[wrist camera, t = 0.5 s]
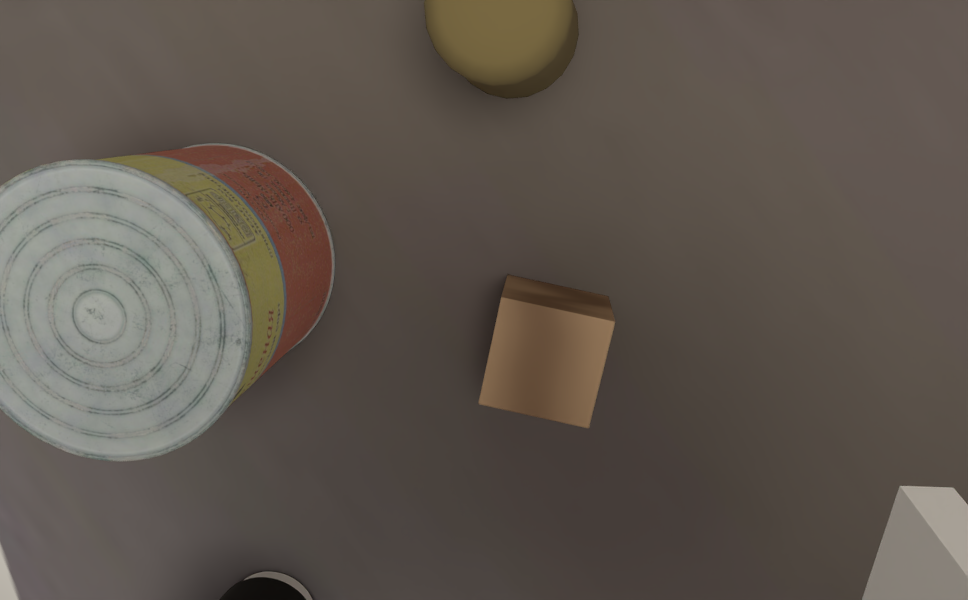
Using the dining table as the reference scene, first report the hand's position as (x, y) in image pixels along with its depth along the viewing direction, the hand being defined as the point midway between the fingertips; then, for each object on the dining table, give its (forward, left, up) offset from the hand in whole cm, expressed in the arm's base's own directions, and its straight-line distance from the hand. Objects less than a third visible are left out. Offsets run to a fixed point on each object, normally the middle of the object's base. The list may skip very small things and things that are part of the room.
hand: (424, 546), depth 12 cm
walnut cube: (-4, +4, -30) cm, 30 cm away
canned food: (+12, +8, -30) cm, 34 cm away
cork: (+4, -8, -30) cm, 31 cm away
